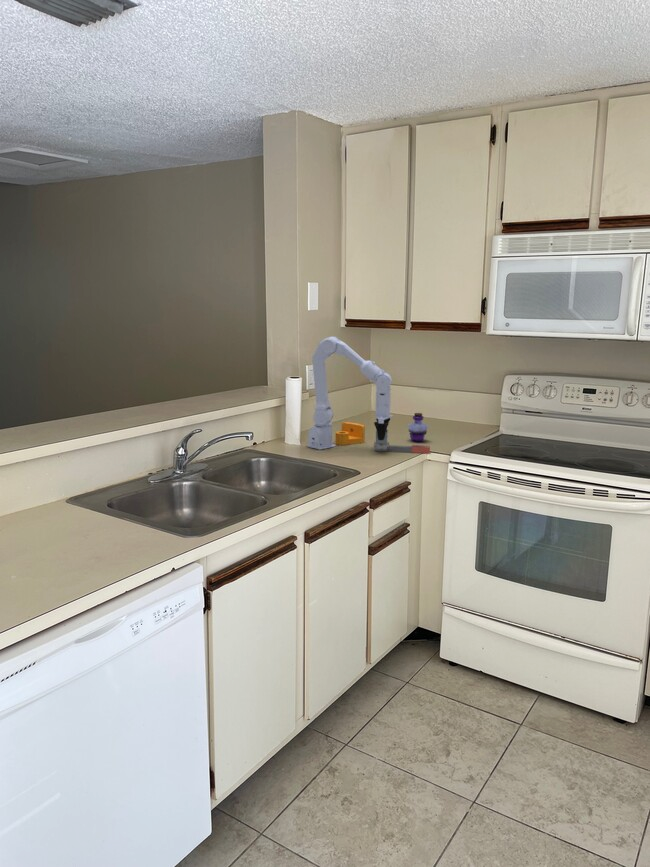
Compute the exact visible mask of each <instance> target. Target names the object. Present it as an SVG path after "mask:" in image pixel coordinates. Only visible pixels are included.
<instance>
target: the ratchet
mask: <svg viewBox="0 0 650 867" xmlns="http://www.w3.org/2000/svg"><path fill="white" fill-rule="evenodd" d="M373 451H374V452H377V451H378V452H377V453H387V451H388V452H391V451H394V452H395V453H396V452H397V453H410V454H429V455H430V454H431V452H430V451H431V446H430V445H422V444H421V445H418V444H417V445H415V444H412V445H398V444H397V445H394V444H390V442H387V444H376V441H374V443H373ZM394 452H393V453H394Z"/></svg>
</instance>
